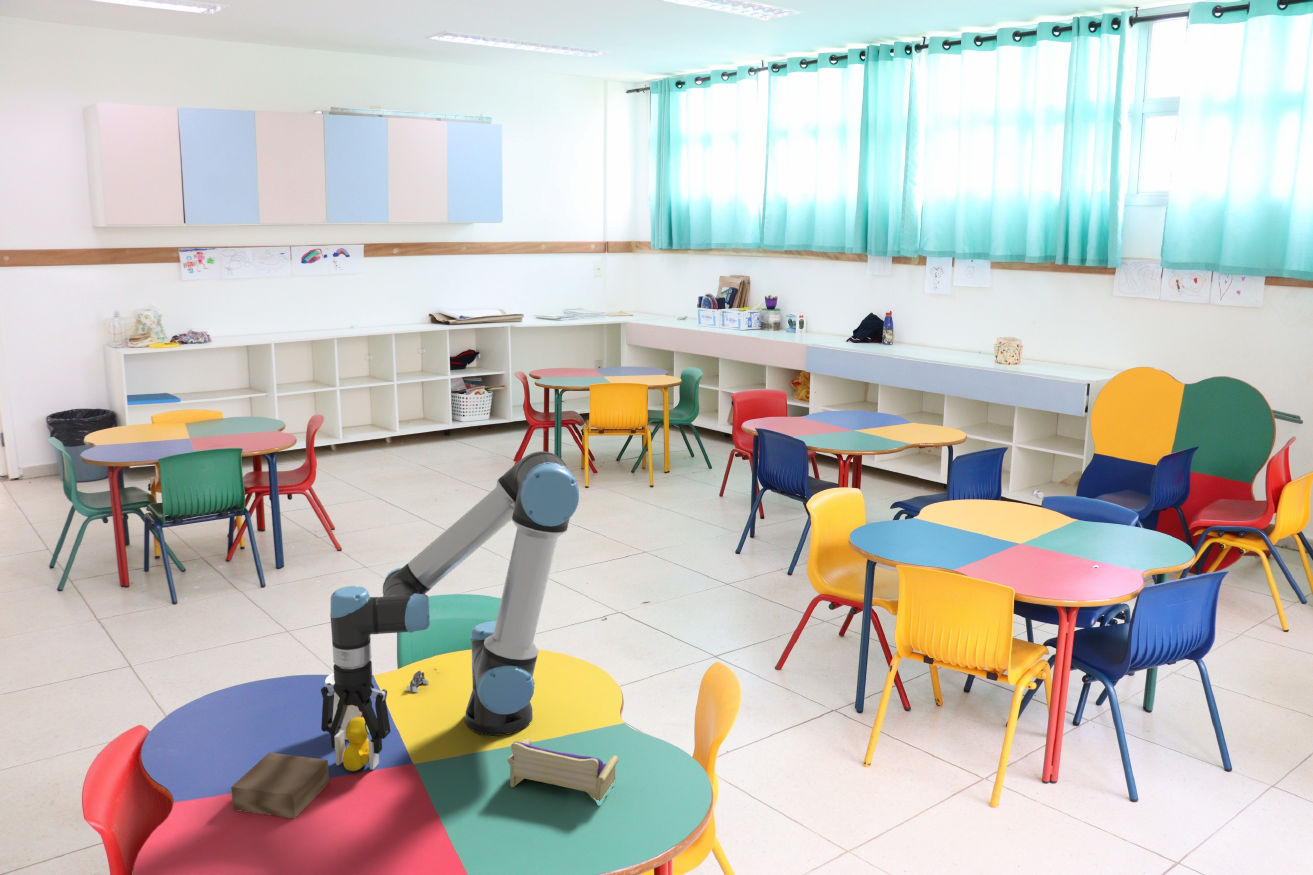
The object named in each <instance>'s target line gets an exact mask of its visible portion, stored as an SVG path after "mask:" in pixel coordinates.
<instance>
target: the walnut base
mask: <svg viewBox="0 0 1313 875" xmlns="http://www.w3.org/2000/svg"><path fill="white" fill-rule="evenodd" d="M329 774H330V773H329V760H328V759H323V758H314V757H309V756H308V757H306V756H299V755H291V754H284V753H277V752H267V754H266V755H264V757H262V759H261V760H259V761H258V762H257V763H256V764H254V766H253V767H252V768H251V769H249V770H248V771H247V772H246V773H245V774H244V775H242V776H241V777H240V778H239V779H238V780H237V781H235V783H234V784H233V785H232V786H231V800H232V810H233V811H236V810H241V811H240V812H243V811H246V812H245V813H250V812H252V813H251V814H257V813H261V814H260V815H264V814H270V815H269V816H271V815H277V816H276V817H279V818H286V819H294V820H295V819H296V818H297V817H298V816H299V815H300V814H301V813H302V812H303V811H304V810H305V809H306V808H307V807H308V806H309V804H310V803H311V802H312V801H313V800H314V799H315V798H316V797H317V796H318V795H319V794H320V793H321V792H322V791H323V790H324V788H326V786H327V785H328V784H329V783H330V775H329Z"/></svg>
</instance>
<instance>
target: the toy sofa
mask: <svg viewBox="0 0 1313 875" xmlns="http://www.w3.org/2000/svg"><path fill="white" fill-rule="evenodd" d="M510 748H511V752H512V754H511V755H510V756H509V757H508V758H507V764H508V765H509V770H510V771H509V772H510V773H509V775H510V776H509V786H510V788H512V787H514V786H515V785H518V784H519V783H521V782H522V781H523V780H525V779H526V780H530V781H531V780H532V781H536V782H541V783H545V784H549V785H554V786H559V787H563V788H568V789H573V790H577V791H581V792H586V793H587V794H588V795H589V797H590V798H591V799H592V798H595V799H596V800H599V801H600V800H601V799H602V798H603V796H604V794H605V793H606V792H607V790H608V789H609V787H610V786H611V784H612V783H613V782H614V780H615V781H616V765H617V763H618V762H619V757H618V755H614V754H613V755H612V756H611V757H610V758H609V760H608V761H607V763H604V761H603V760H602V759H601V758H598V757H594V756H590V755H589V756H588V755H580V754H575V753H569V752H562V751H561V752H560V751H556V750H551V749H547V748H543V747H539V746H534V745H532V741H531V739H530V738H529V737H528V738H525V739H524V740H523V741H522V742H521V741H516V740H515V741H514V742H513V743H512V744H511V746H510ZM515 787H516V786H515ZM515 787H514V788H515Z"/></svg>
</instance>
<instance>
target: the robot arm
mask: <svg viewBox="0 0 1313 875" xmlns="http://www.w3.org/2000/svg"><path fill="white" fill-rule="evenodd" d="M579 502H580V490H579V485H578V482H577V479H576V478H575V476H574V474H573V473H572V472H571V471H570V469H569V468H568V466H567V465H566V463H565V462H564V460H563V459H562V458H561V457H559V456H558V455H557V454H555V453H553V452H549V451H545V450H543V451H542V450H541V451H535V452H532V453H529V454H527V455H525V456H524V457H522V458H521V459H520V460H519V461H517V462H516V463H515V464H514V465H512V467H510V469H508V470H507V471H506V472H505V473H504V474H503V475H502V476H500V477H499V478H498V479H496V486H495V487H494V489H492V490H491V491H490V492H489V493H488V494H487V495H486V496H485V497H483V498H482V499H481V500H480V501H478V503H476V504H475V505H474V506H473V507H471V509H469V510H468V511H467V512H465V514H463V515H462V516H461V517H460V518H459V519H457V521H454V523H453V524H452V525H451V526H449V527H448V528H447V529H446V530H445V531H444V532H442V533H441V534H440V535H439V536H438V537H437V538H435V539H434V540H433V541H432V542H431V543H430V544H429V545H427V546H426V547H425V548H423V550H421V551H420V552H419V553H418V554H417V555H416V556H414V558H413V559H411V560H410V561H409V562H408V563H406V564H405V565H403V567H397V568H395V569H392V570H391V571H390V572H389V573H388V574H387V575H386V577H385V578H384V581H383V585H382V596H370V594H369V591H368V589H367V588H365V587H363V586H356V585H349V586H348V585H347V586H344V587H340V588H338V589H336V590H334V592H333V593H332V594H331V596H330V614H329V615H330V616H329V617H330V628H331V644H332V646H331V647H332V661H333V663H334V664H333V666H332V667H333V673H334V681H335V684H333V685H331V683H327V684H326V685H325V684H324V686H323V687H321V689H320V693H321V697H322V710H321V711H322V712H321V731H322V732H324V733H325V732H328V733H329V735H330V741H331V744H330V745H331V746H330V747H331V748H332V749H334V754H335V755H334V756H335V765H336V766H340V765H341V764H342V763H343V756H344V752H345V749H346V744H345V743H346V741H345V739H344V730H340V729H341V728H342V727H341V725H342V722H343V719H344V716H345V713H346V710H347V707H348V706H349V705H353V706H357V707H358V709H359V711H360V712H362V715H363V717H364V720H365V722H366V725H367V727H368V730H369V735H370V737H371V738H369V770H372V771H373V770H375V768H377V766H378V765H379V764H380V752H382V750H383V743H382V742H383V740H385V739H386V738H387V737H388V735H389V734H390V733H391V725H390V724H391V723H390V721H389V720H390V717H389V712H388V707H387V701H386V700H387V696H388V690H387V689H386V688H385V689H382V690H380V689H377V688H375V685H373V666H372V665H373V662H372V642H371V640H372V639H371V635H381V634H396V633H414V632H420V631H425V630H428V629H429V628H430V626H431V624H430V623H431V622H430V618H431V615H430V614H431V613H430V598H429V596H428V595H427V593H428V592H429V591H430V590H431V589H433V587H435V586H436V585H437V584H438V583H439V582H440V581H442V580H443V579H444V578H445V577H446V576H448V575H449V574H450V573H451V572H452V571H454V570H455V569H456V568H457V567H459V565H460V564H462V563H463V562H465V560H467V559H468V558H469V557H470V556H471V555H472V554H473V553H474V552H476V551H477V550H479V548H481V547H482V546H483V545H484V544H485V543H486V542H488V541H489V540H490V539H491V538H492V537H493V536H495V535H496V534H497V533H498V532H499V531H500V530H502V528H504V527H505V526H507V524H509V522H511V521H512V522H513V524H514V526H515V527H516V533H515V536H514V537H515V538H514V540H513V544H512V545H513V546H512V550H511V554H510V560H509V563H508V568H507V572H506V576H505V581H504V586H503V590H502V594H501V599H500V603H499V606H498V612H497V616H496V620H491V621H490V620H489V621H484V622H482V623H479V624H476V625H475V626H474V627H473V628H472V629H471V636H470V642H471V670H472V672H471V674H472V677H471V678H472V690H471V693H470V696H469V699H468V701H467V702H468V703H467V707H466V709H465V713H464V714H465V715H464V716H465V725H466V727H468V728H469V729H470V730H471V731H473V732H475V733H477V734H481V735H486V736H504V735H508V734H509V735H510V734H514V733H517V732H519V731H522V730H524V729H526V728H527V727H528V726H530V724H531V723H532V721H533V706H532V703H531V701H532V698H533V696H534V694H535V693H534V692H535V689H536V688H535V680H534V678H533V677H534V672H535V668H536V664H537V660H538V654H539V649H538V647H537V646H536V644H535V642H534V640H535V636H536V632H537V628H538V623H539V620H540V614H541V610H542V606H543V602H544V598H545V593H546V589H547V584H548V580H549V576H550V571H551V568H552V563H553V559H554V553H555V551H556V545H557V542H558V538H559V537H561V535H563V534H565V533H566V532H567V531H568V528H569V527H568V526H569V523H570V518H571V517H572V516H574V514H575V513H576V510H577V509H578V505H579ZM335 692H336V694H337V695H338V697H339V698H340V699H339V702H338V705H337V707H338V708H337V711H336V714H335V717H334V720H333V706H334V693H335ZM371 696H372V697H373V701H372V699H371ZM373 702H374V703H375V704H374V707H373ZM374 708H375V710H374ZM530 722H531V723H530ZM529 723H530V724H529ZM523 728H524V729H523ZM339 730H340V731H339Z"/></svg>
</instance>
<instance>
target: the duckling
mask: <svg viewBox="0 0 1313 875" xmlns="http://www.w3.org/2000/svg"><path fill="white" fill-rule="evenodd" d="M369 735H370V732H369V730H368V727H367V725H366V722H365V720H364V717H363V715H361V717H355V718H353V719H351V720H350V721H349V723H348V725H347V727H346V737H347V739H348V740H347V741H348V742H349V743H348V745H347V746H345V752H344V756H343V762H342V763H343V767H344V769H345V770H347V771H349V772H350V771H351V772H357V771H359V770H361V769H362V768H363V767H364V766H365V765H368V763H370V761H369V740H370V738H369Z"/></svg>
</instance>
